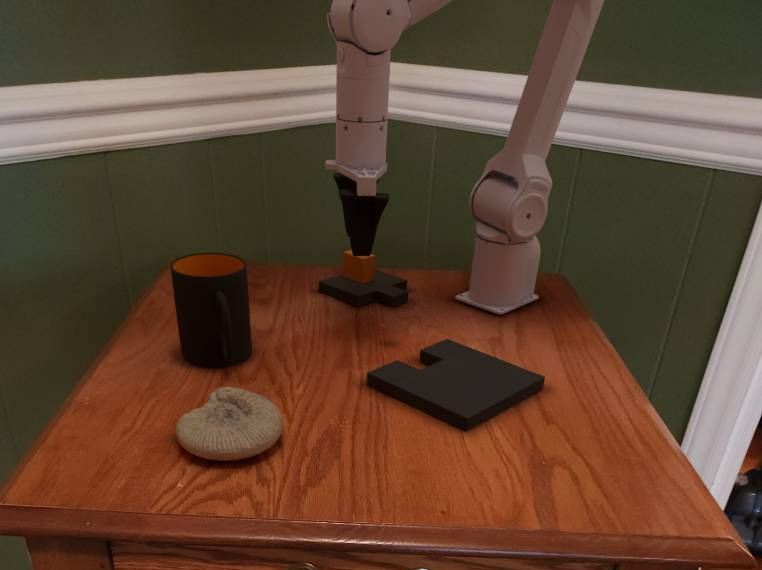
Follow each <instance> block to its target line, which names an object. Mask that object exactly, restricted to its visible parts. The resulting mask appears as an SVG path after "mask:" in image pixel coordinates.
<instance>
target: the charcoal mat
mask: <svg viewBox="0 0 762 570" xmlns="http://www.w3.org/2000/svg"><path fill="white" fill-rule="evenodd" d="M419 363H421V364H424V365H426V367H423V368H421V369H420V368H417V367H415V366H412V365H411V364H408V363H406V362H403V361H401V360H399V359H396V360H393V361H390V362H389V363H386V364H383V365H382V366H379V367H376V368H375V369H373V370H370V371H368V372H367V373H366V386H368V387H370V388H372V389H375V390H377V391H379V392H380V393H383V394H385V395H388V396H390V397H392V398H394V399H396V400H398V401H401V402H402V403H404V404H406V405H409V406H411V407H413V408H414V409H417V410H419V411H422V412H424V413H426V414H428V415H431V416H432V417H434V418H436V419H439V420H440V421H443V422H445V423H447V424H449V425H451V426H453V427H455V428H458V429H459V430H462V431H464V432H468V431H469V430H471V429H473V428H475V427H476V426H478V425H481V424H482V423H484V422H486V421H487V420H489V419H491V418H493V417H495V416H496V415H499V414H500V413H502V412H503V411H505V410H508V409H510V408H511V407H513V406H515V405H517V404H518V403H520V402H522V401H524V400H526V399H527V398H529V397H532V396H533V395H534V394H536V393H538V392H540V391H542V390H543V389H544V385H545V381H546V376H544V375H542V374H539V373H536V372H534V371H532V370H529V369H527V368H524V367H521V366H518V365H516V364H513V363H511V362H508V361H505V360H503V359H500V358H498V357H495V356H492V355H490V354H488V353H486V352H483V351H480V350H477V349H474V348H472V347H469V346H467V345H464V344H462V343H460V342H456V341H454V340H452V339H449V338H445V339H443V340H440V341H438V342H436V343H433V344H431V345H428V346H426V347H424V348H421V349H420V352H419Z"/></svg>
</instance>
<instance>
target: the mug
mask: <svg viewBox="0 0 762 570" xmlns="http://www.w3.org/2000/svg"><path fill="white" fill-rule="evenodd" d="M169 267H170V274H171V283H172V291H173V300H174V308H175V314H176V322H177V330H178V337H179V346H180V354H181V357H182V359H183V360H184V361H185V362H186V363H188V364H190V365H193V366H194V367H195V366H196V367H199V368H207V369H208V368H209V369H221V368H222V369H223V368H228V367H234V366H237V365H239V364H243V362H246V361H247V360H249V359H250V357H251V356H252V354H253V344H252V341H253V340H252V328H251V326H252V325H251V312H250V310H251V309H250V297H249V295H250V293H249V281H248V279H249V278H248V267H247V261H245V259H244V258H241V257H240V256H237V255H234V254H231V253H223V252H198V253H191V254H187V255H183V256H180V257H178V258H176V259H174V260H173V261H172V262H171V263H170V266H169Z"/></svg>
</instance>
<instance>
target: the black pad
mask: <svg viewBox="0 0 762 570" xmlns="http://www.w3.org/2000/svg"><path fill="white" fill-rule="evenodd" d="M375 266H376V255H375V254H372V253H371V255H370V256H353V253H352V250H351V249H348V250H345V251H343V252H342V273H341V274H337V275H335V276H331V277H328V278H324V279H321V280H319V281H318V292H320V293H322V294H324V295H327V296H329V297H332V298H335V299H337V300H340V301H341V302H345V303H346V304H350V305H352V306H355V307H357V308H359V307H362V306H365V305H368V304H371V303H374V302H377V303H378V304H382V305H384V306H386V307H390V308H395V307H399V306H401V305H403V304H406V303H408V302H409V291H408V279H405V278H402V277H400V276H397V275H394V274H391V273H388V272H385V271H382V270H379V269H376V268H375Z"/></svg>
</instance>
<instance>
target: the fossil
mask: <svg viewBox="0 0 762 570" xmlns="http://www.w3.org/2000/svg"><path fill="white" fill-rule="evenodd" d="M207 400H208V401H207V402H206V403H205V404H203V406H201V407H197V408H194V409H192V410H191V411H190V412H187V413H186V412H185V413H184V414H183V415H182V416H181V418H180V419H179V420H177V422H176V425H175V432H176V438H177V441H178V443H179V444H180V446H181V447H182V448H183V449H184V450H185V451H187V452H188V453H190V454H192V455H194V456H195V457H198V458H203V459H206V460H211V461H220V462H222V461H224V462H227V461H240V460H245V459H248V458H252V457H255V456H257V455H261V454H262V453H264V452H265V451H267V450H269V449H271V447H272V446H274V444H276V443H277V441H278V440H279V439H280V436H281V435H282V431H283V418H282V415H281V414H282V413H281V412H280V410H279V408H278V407H277V406H276V405H275V403H274V402H272V401H271V400H269V398H268V397H265V396H264V395H261V394H259V393H255V392H254V391H253V392H252V391H250V390H246V389H242V388H238V387H232V386H223V387H220V386H219V387H218V388H216V389H215V390H214V391H212V392H211V393H210V394H209V395H208V396H207Z"/></svg>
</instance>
